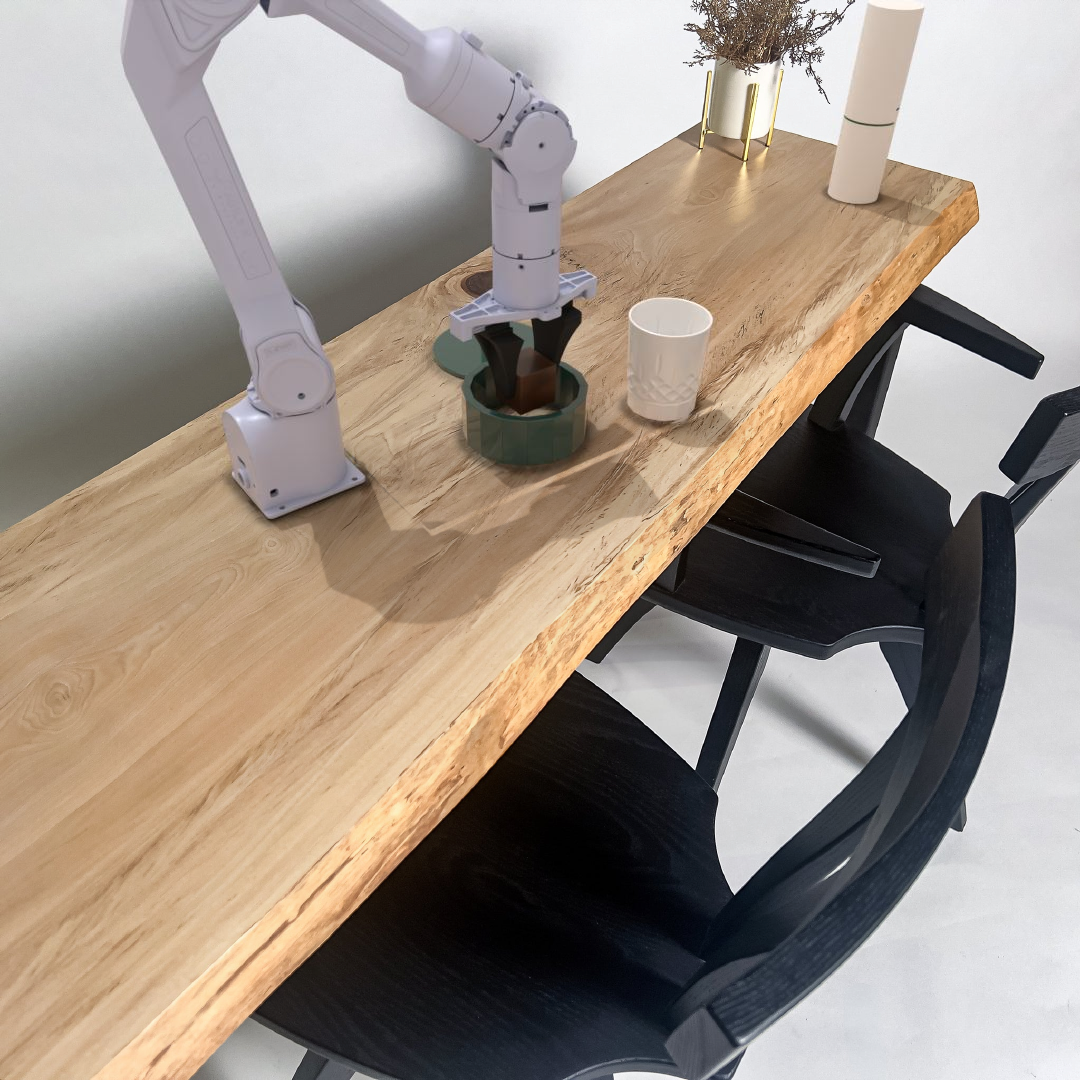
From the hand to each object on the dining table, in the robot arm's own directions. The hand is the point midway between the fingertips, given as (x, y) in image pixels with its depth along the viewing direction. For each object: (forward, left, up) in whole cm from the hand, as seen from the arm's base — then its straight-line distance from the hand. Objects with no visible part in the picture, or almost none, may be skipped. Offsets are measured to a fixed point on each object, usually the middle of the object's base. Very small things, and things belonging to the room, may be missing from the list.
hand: (524, 386), depth 90 cm
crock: (0, 0, -5) cm, 5 cm away
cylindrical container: (+76, +22, -6) cm, 79 cm away
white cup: (+14, -4, -6) cm, 16 cm away
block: (0, 0, -1) cm, 1 cm away
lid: (+6, +14, -5) cm, 16 cm away
